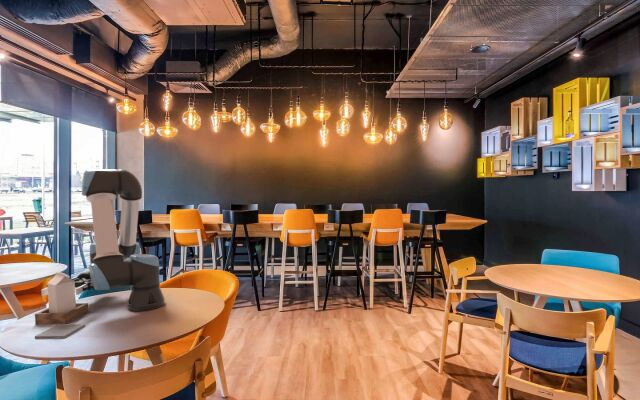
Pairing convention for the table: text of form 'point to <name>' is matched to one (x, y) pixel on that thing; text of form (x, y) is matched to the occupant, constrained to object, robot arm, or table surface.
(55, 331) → the slate pad
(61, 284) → the milk carton
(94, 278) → the robot arm
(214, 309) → the table surface
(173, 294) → the table surface
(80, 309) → the walnut holder
